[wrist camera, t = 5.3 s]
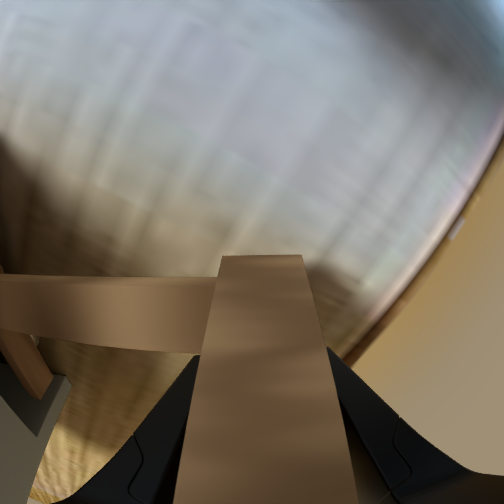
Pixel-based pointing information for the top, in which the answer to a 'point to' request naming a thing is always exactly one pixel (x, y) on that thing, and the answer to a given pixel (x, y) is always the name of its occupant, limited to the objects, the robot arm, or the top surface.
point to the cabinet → (25, 431)
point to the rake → (210, 370)
